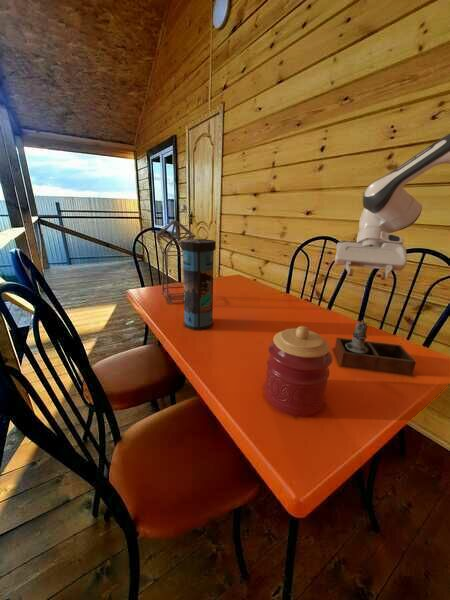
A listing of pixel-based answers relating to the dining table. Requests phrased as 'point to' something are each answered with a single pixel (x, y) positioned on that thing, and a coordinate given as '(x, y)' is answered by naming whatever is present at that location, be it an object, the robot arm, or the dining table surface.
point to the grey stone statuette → (358, 340)
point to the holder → (376, 357)
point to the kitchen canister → (297, 372)
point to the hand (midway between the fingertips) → (366, 277)
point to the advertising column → (198, 282)
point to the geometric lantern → (171, 255)
